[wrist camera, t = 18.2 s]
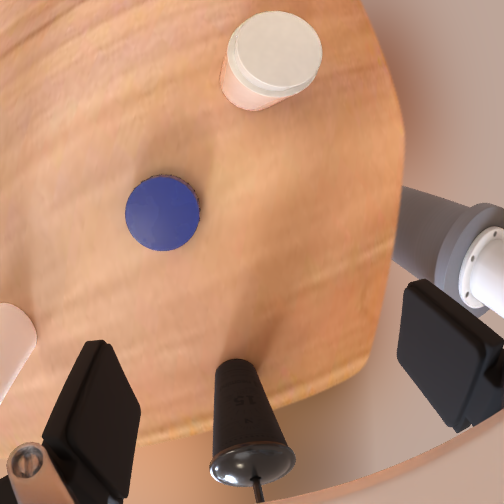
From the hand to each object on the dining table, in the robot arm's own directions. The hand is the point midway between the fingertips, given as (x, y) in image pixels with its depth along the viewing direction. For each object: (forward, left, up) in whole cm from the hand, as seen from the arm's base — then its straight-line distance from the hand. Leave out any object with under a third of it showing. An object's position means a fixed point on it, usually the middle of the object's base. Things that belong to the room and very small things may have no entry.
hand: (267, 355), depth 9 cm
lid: (+5, +2, -20) cm, 21 cm away
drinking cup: (-8, +18, -22) cm, 29 cm away
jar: (+2, -12, -21) cm, 25 cm away
